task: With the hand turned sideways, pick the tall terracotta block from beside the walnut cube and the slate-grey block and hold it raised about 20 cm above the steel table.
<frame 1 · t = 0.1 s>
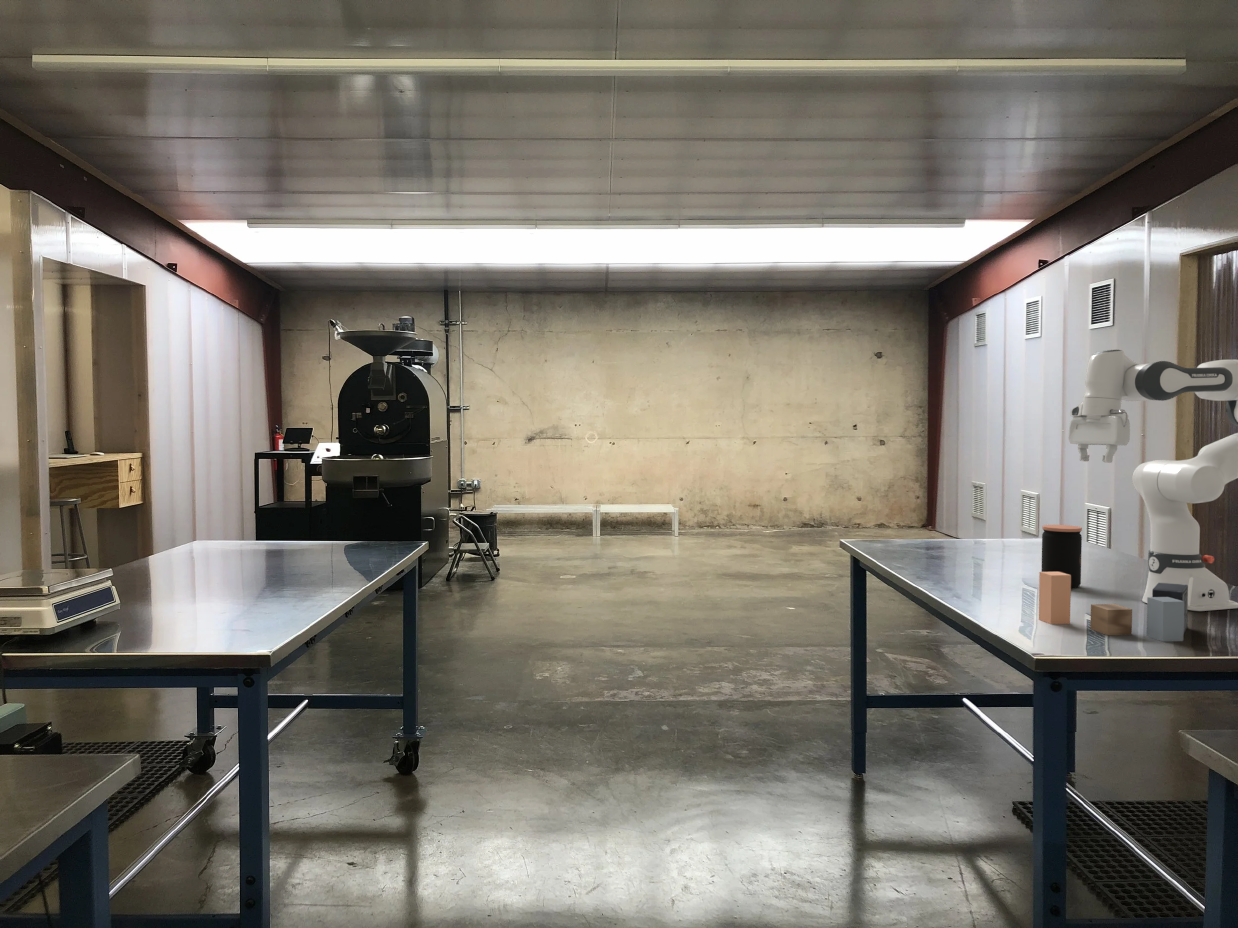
hand: (1095, 461, 222), 39 cm above the table, fingers open, 8 cm apart
slate block: (1164, 638, 189), on the table
small box: (1169, 630, 197), on the table
terracotta block: (1054, 621, 206), on the table
coffee jar: (1060, 586, 252), on the table
walnut block: (1110, 632, 195), on the table
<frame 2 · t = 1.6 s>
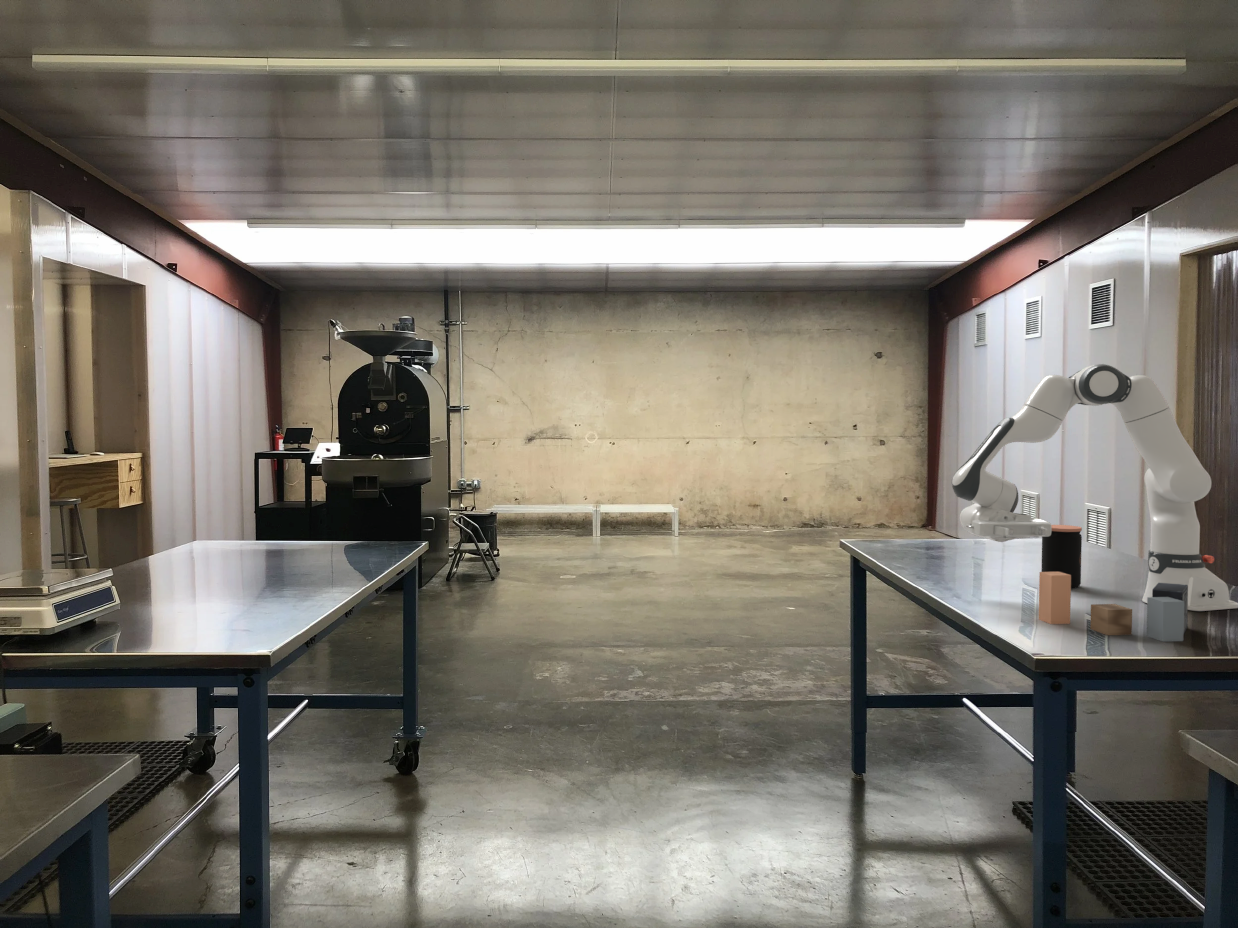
hand: (1027, 532, 217), 21 cm above the table, fingers open, 8 cm apart
nothing on the table moved.
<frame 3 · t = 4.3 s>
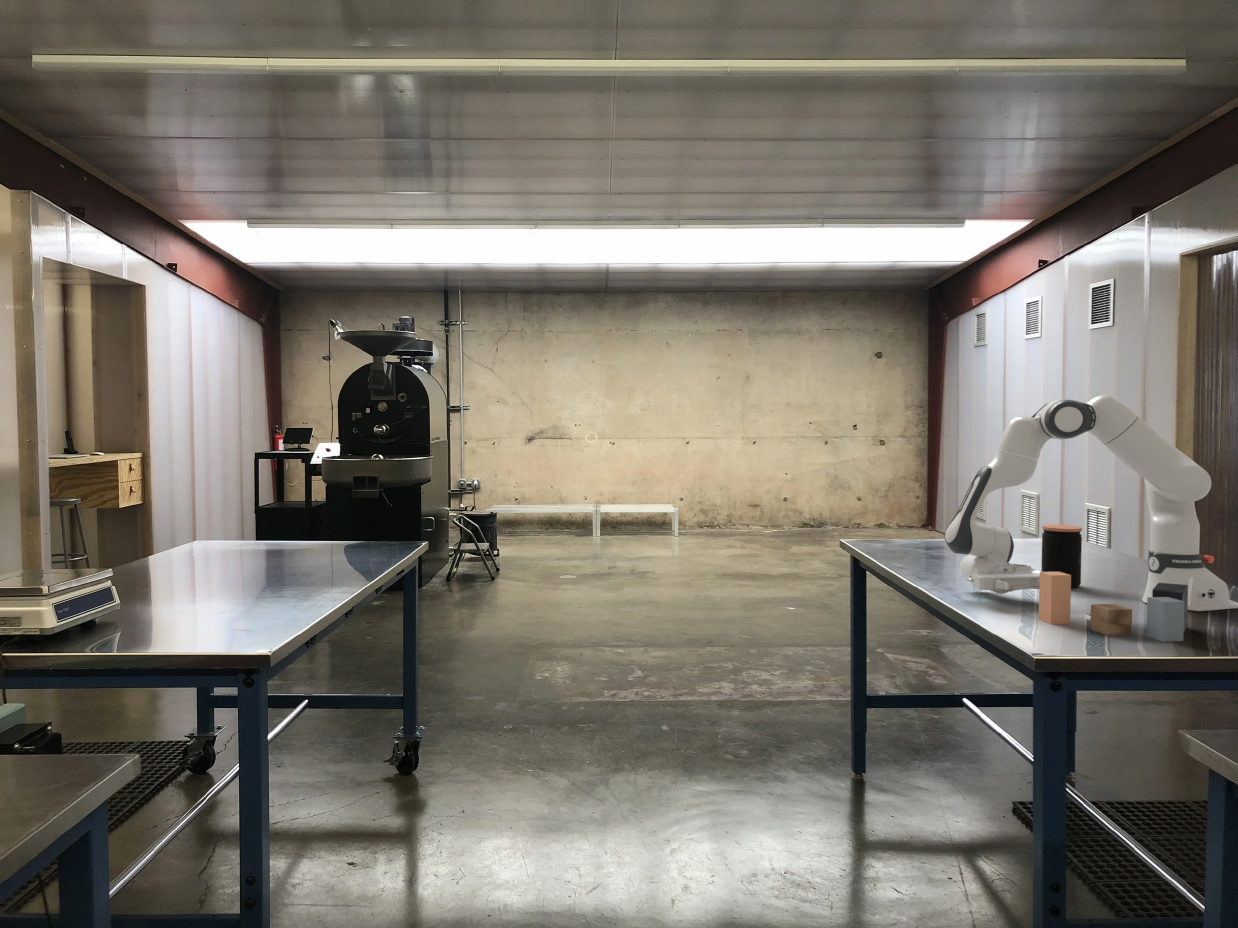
hand: (1027, 586, 217), 6 cm above the table, fingers open, 8 cm apart
nothing on the table moved.
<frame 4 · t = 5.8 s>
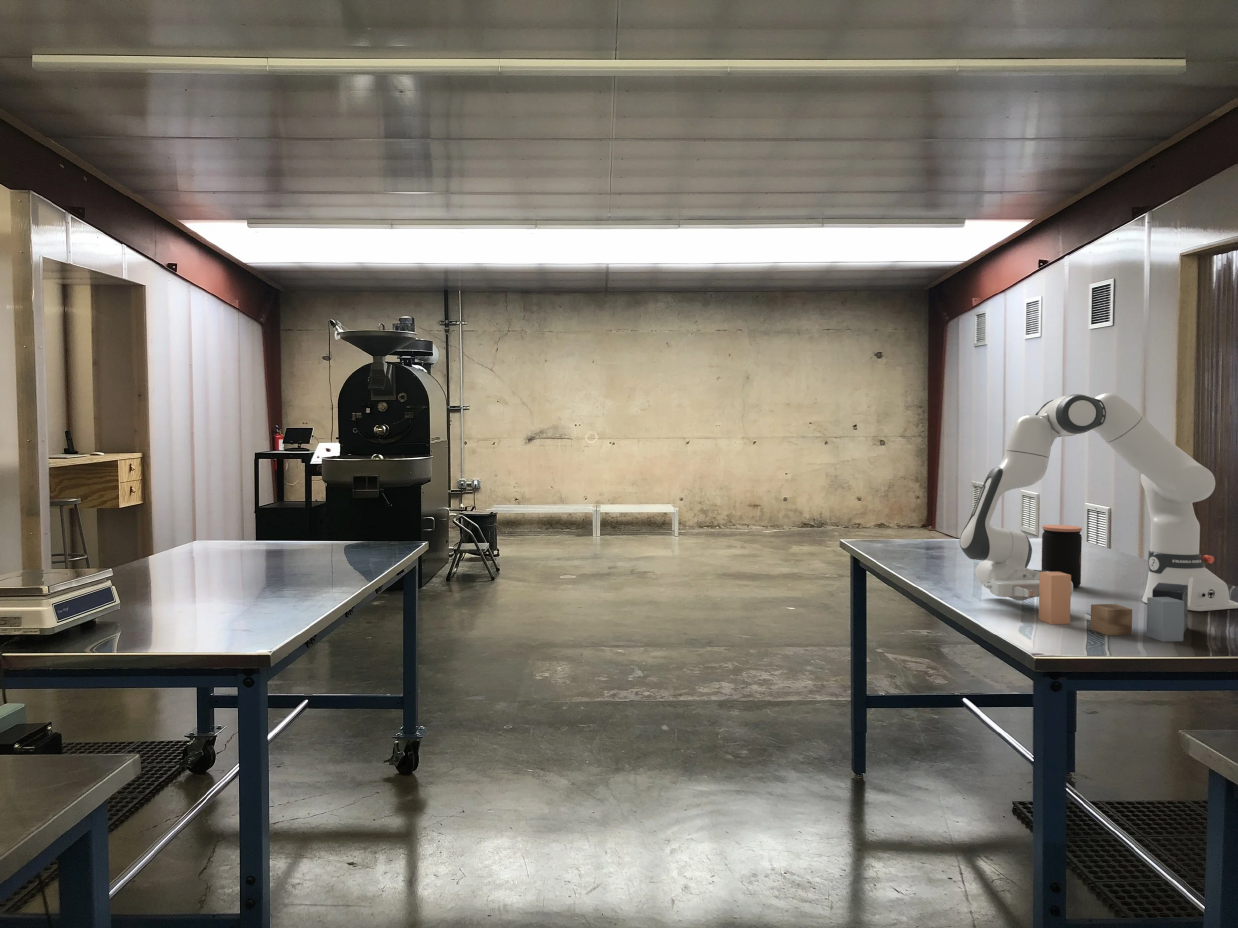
hand: (1048, 593, 208), 6 cm above the table, fingers open, 8 cm apart
nothing on the table moved.
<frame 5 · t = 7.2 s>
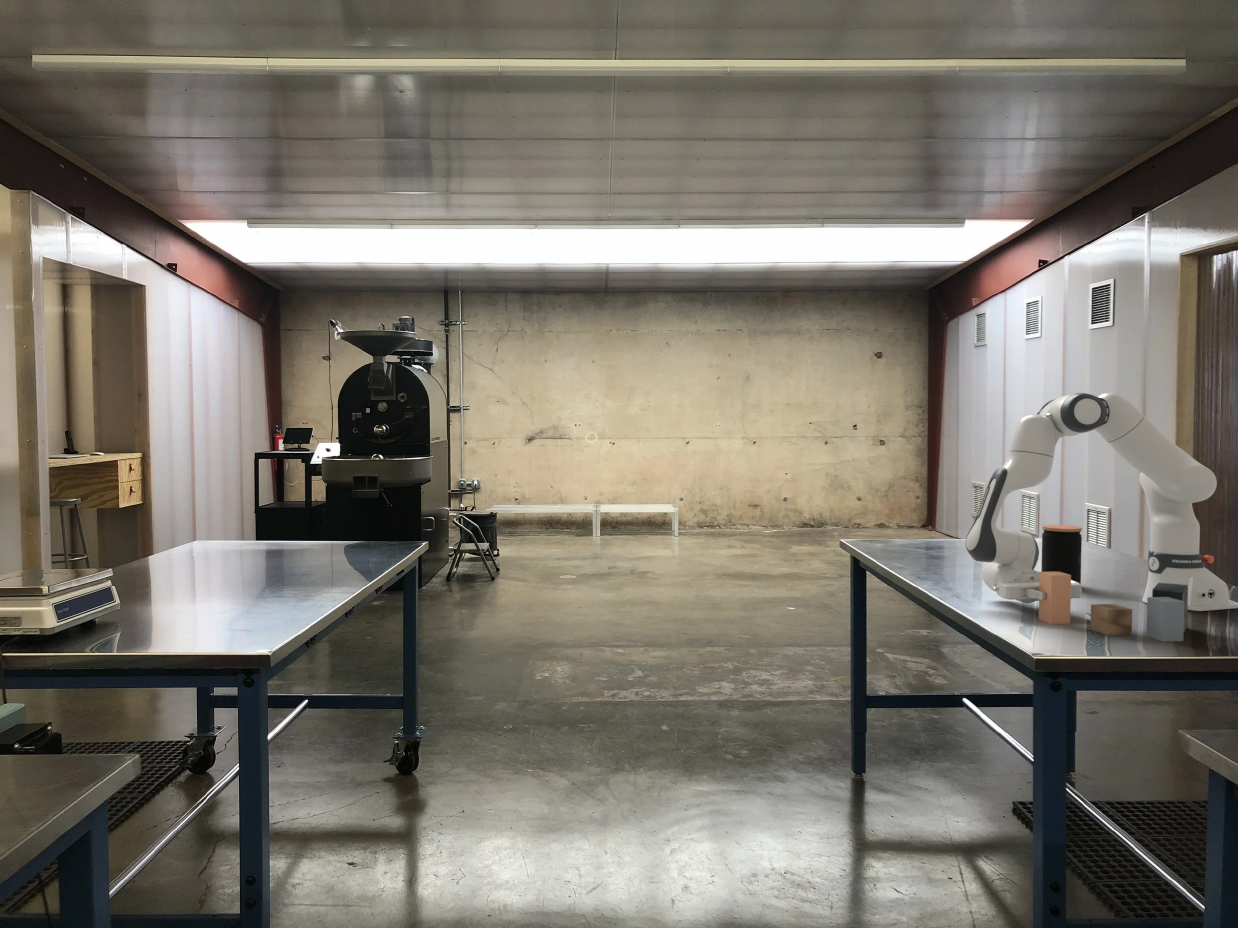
hand: (1056, 595, 205), 7 cm above the table, fingers closed on terracotta block, 5 cm apart
terracotta block: (1054, 621, 206), on the table, touching gripper
everything else where it was.
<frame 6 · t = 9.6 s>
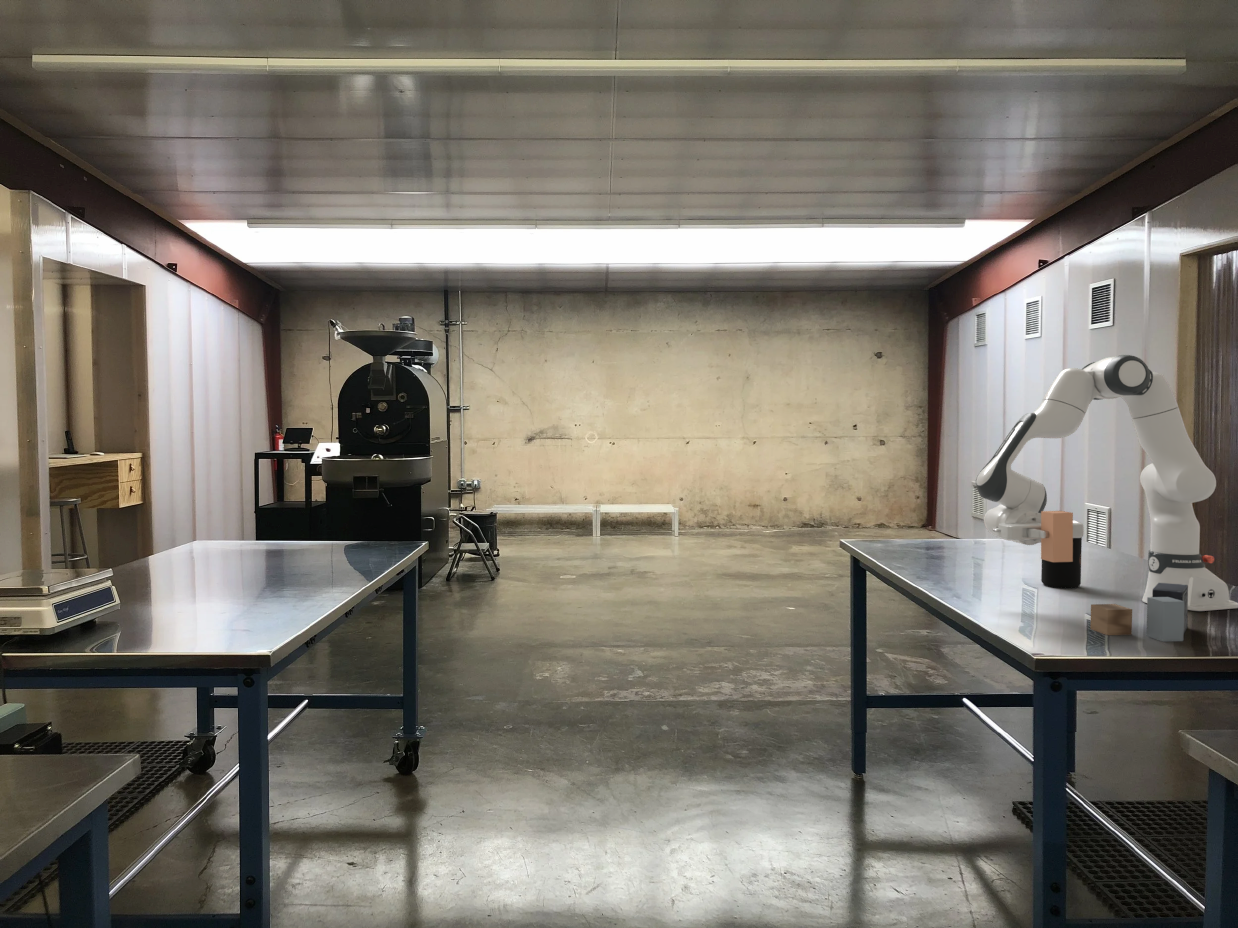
hand: (1059, 534, 204), 22 cm above the table, fingers closed on terracotta block, 5 cm apart
terracotta block: (1056, 560, 205), point 15 cm above the table, touching gripper
everything else where it was.
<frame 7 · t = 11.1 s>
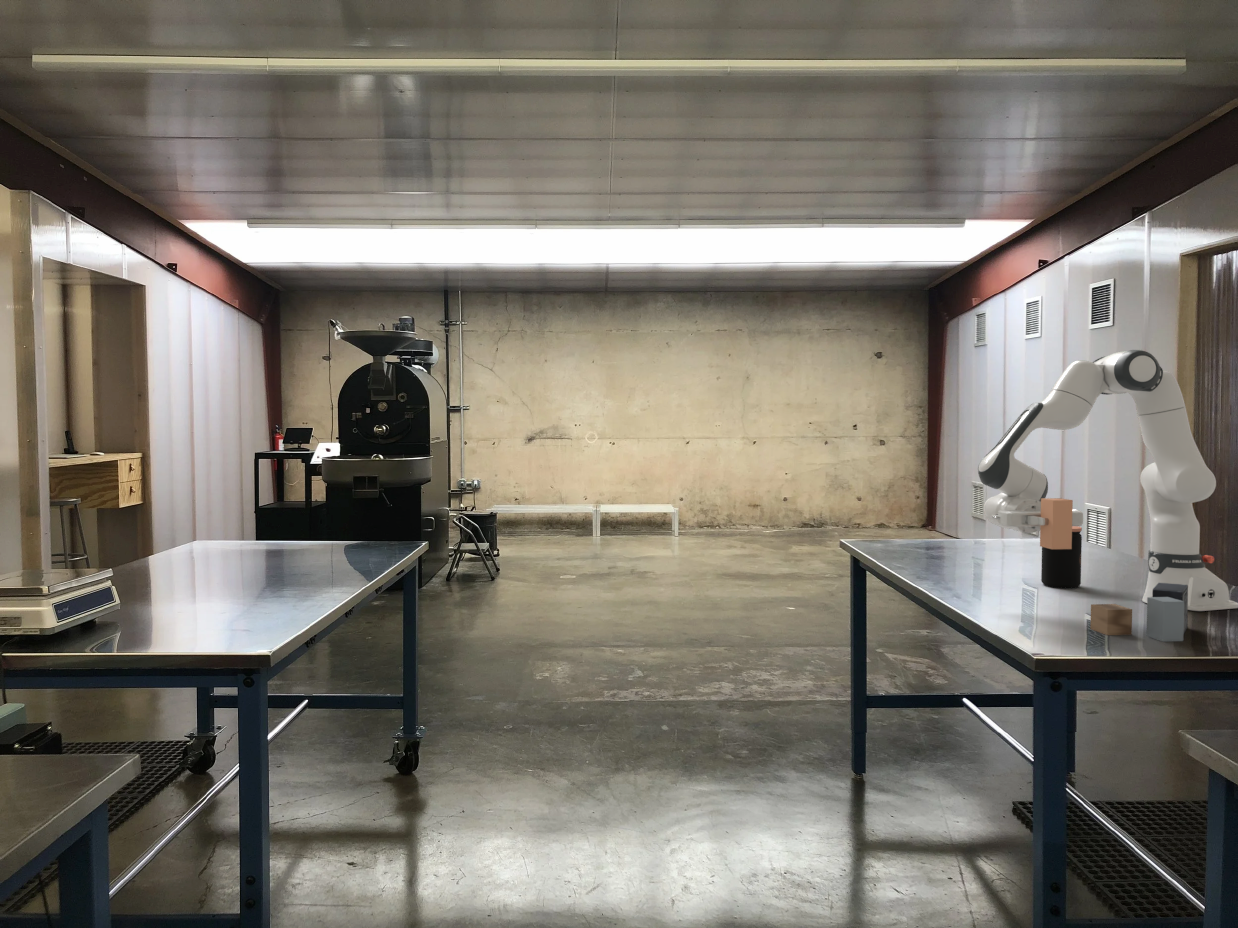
hand: (1058, 521, 204), 25 cm above the table, fingers closed on terracotta block, 5 cm apart
terracotta block: (1055, 547, 205), point 18 cm above the table, touching gripper
everything else where it was.
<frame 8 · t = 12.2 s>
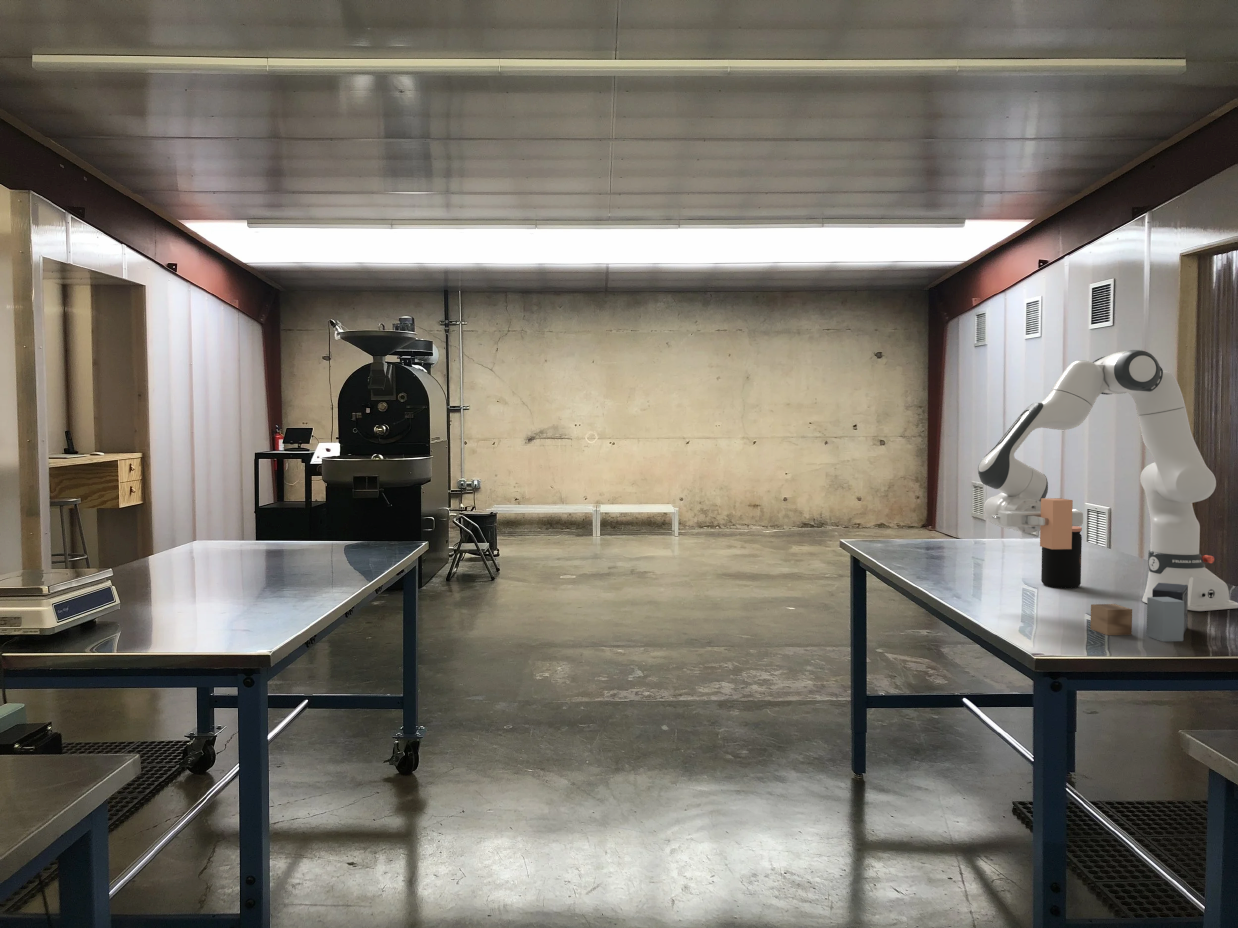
hand: (1058, 521, 204), 25 cm above the table, fingers closed on terracotta block, 5 cm apart
terracotta block: (1055, 547, 205), point 18 cm above the table, touching gripper
everything else where it was.
at the end: the gripper is holding terracotta block; terracotta block point 18.4 cm above the table; walnut block moved 0.1 cm from its start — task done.
